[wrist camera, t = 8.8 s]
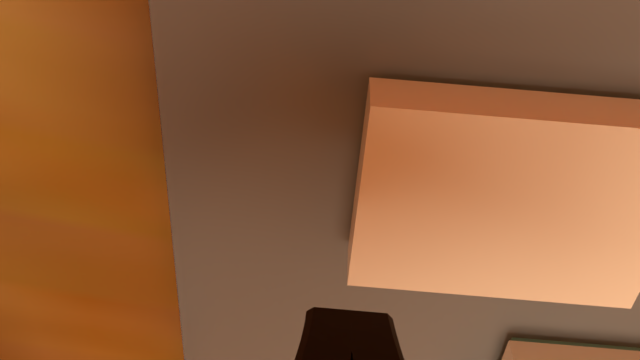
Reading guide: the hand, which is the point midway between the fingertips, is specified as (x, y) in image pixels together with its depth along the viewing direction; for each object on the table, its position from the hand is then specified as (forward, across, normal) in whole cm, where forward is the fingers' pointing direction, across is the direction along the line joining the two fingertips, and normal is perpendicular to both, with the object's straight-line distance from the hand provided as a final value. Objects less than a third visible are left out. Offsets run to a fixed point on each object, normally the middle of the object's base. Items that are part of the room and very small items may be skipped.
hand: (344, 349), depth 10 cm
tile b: (+5, 0, 0) cm, 5 cm away
